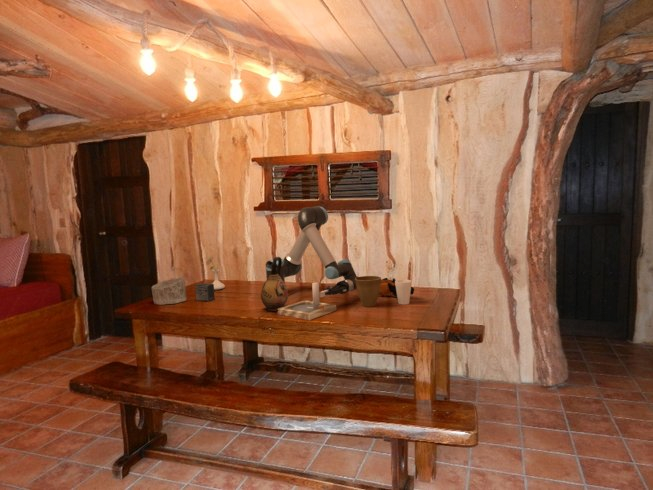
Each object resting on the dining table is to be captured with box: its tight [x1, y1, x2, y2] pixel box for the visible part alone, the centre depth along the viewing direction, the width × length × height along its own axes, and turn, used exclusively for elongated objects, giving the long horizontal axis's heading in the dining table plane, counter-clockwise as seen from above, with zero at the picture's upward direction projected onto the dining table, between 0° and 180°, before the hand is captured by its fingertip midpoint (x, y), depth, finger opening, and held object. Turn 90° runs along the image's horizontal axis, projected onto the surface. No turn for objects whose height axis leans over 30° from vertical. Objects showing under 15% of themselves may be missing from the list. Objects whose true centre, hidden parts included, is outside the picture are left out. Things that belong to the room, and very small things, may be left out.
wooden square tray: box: [277, 299, 337, 321], centre depth 246 cm, size 23×23×5 cm
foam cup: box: [395, 279, 413, 305], centre depth 258 cm, size 10×9×13 cm
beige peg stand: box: [293, 281, 321, 313], centre depth 246 cm, size 16×16×16 cm
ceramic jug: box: [260, 256, 289, 312], centre depth 256 cm, size 17×15×30 cm
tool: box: [378, 277, 415, 298], centre depth 273 cm, size 8×23×15 cm, turn 55°
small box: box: [194, 282, 215, 302], centre depth 285 cm, size 11×6×10 cm, turn 65°
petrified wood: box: [150, 277, 187, 306], centre depth 283 cm, size 19×17×15 cm
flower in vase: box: [205, 255, 226, 291], centre depth 317 cm, size 13×11×25 cm
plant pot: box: [355, 275, 382, 308], centre depth 256 cm, size 15×15×16 cm
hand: (320, 294), depth 244 cm, fingers closed
